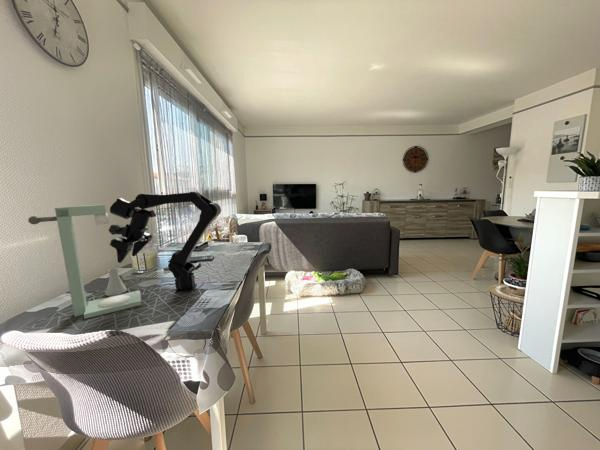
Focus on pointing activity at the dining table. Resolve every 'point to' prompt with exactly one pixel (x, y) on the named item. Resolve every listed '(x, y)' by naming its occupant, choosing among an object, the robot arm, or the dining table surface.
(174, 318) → the dining table surface
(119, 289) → the flask
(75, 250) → the bench press
